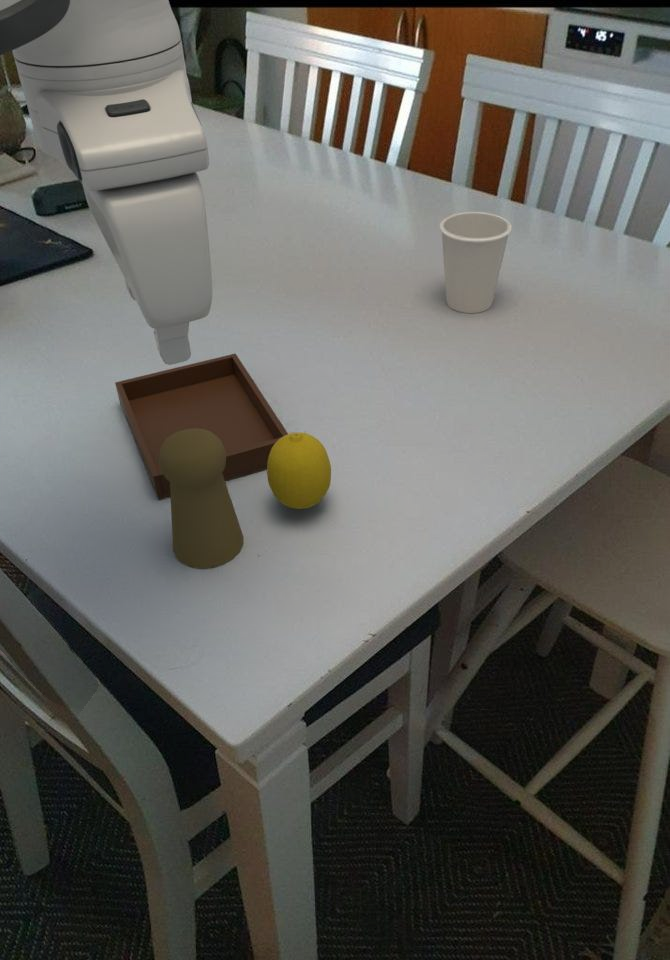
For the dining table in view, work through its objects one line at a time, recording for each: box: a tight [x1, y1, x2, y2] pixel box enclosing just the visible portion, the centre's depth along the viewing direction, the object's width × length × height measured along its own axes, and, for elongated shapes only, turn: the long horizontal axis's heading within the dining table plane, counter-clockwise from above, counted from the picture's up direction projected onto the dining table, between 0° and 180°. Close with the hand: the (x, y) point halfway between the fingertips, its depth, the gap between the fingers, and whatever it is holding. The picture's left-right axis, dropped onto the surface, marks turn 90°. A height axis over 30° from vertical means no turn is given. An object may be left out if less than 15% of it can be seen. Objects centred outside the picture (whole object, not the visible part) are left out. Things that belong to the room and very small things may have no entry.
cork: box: [159, 428, 244, 570], centre depth 66 cm, size 6×6×11 cm
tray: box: [114, 353, 289, 501], centre depth 81 cm, size 13×17×3 cm
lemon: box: [266, 431, 332, 510], centre depth 70 cm, size 6×6×8 cm
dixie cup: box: [439, 211, 513, 314], centre depth 98 cm, size 8×8×10 cm
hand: (157, 324), depth 54 cm, fingers open, 8 cm apart
